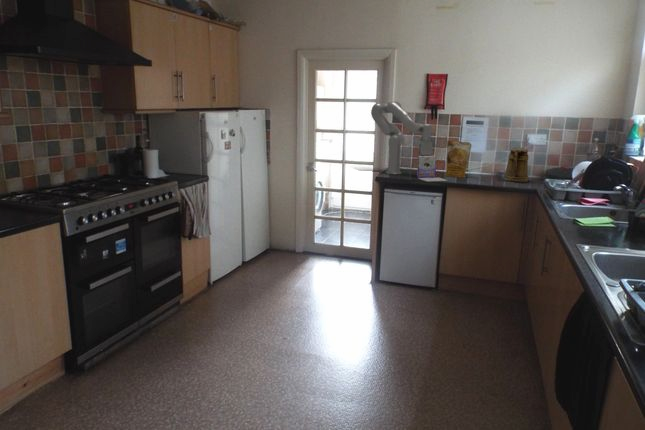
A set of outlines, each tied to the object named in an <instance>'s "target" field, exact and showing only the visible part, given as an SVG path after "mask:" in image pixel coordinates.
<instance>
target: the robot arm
mask: <svg viewBox="0 0 645 430" xmlns="http://www.w3.org/2000/svg"><path fill="white" fill-rule="evenodd" d="M370 113H371V118H372V120H373V121H374V122H375V124H376V125H377V127H378V128H379V129H380V130H381V132H382V133H383V135H385V136H389V138H388V158H387V159H388V160H387V161H388V162H387V170H386V171H385V174H387V175H401V174H402V171H400V170H401V169H400V168H401V154H402V152H401V151H402V149H401V145H403V144H404V143H405V136H404V134H403V133H402V131H401V130H400V129H399V127H397V125H396V124H395V123H391V122H389V121H388V120H387V118H386V117H385V115H384V114H392V115H393V116H394V117H395V118H396V119H398V120H399V121H400V122H401V124H402V125H403V126H404V127H405V128H406V129H407V130H408V131H410V133H412V134H421V135H420V138H419V145H418V152H417V153H418V156H432V154H433V142H432V141H431V139H432V129H433V126H432V124H430V123H416V122H415V121H414V120H412V118H411V117H410V116H409V113H408V111H406V110H405V109H404V108H403V107H402V104H401V102H399V101H391V102H377V103H375V104H373V106H372V107H371V112H370ZM418 156H417V157H418Z"/></svg>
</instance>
